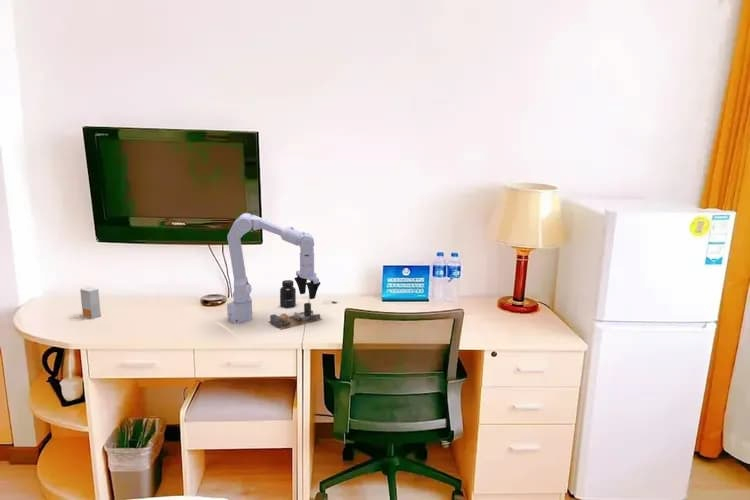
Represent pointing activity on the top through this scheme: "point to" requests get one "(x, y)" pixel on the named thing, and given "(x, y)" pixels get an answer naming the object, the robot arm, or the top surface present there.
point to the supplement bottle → (287, 294)
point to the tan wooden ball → (284, 318)
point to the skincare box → (90, 302)
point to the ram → (306, 312)
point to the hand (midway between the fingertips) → (307, 296)
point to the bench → (292, 321)
